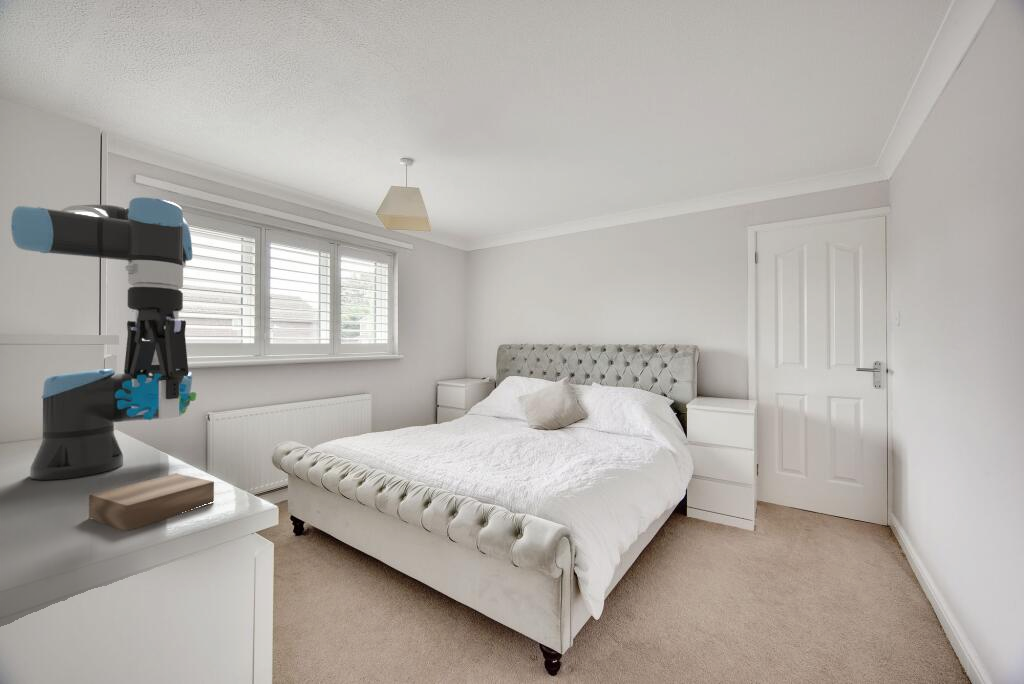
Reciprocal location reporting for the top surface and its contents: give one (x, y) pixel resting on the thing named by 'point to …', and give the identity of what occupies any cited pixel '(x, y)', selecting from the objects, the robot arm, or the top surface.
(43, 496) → the top surface
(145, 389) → the gear
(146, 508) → the brown rectangular block
